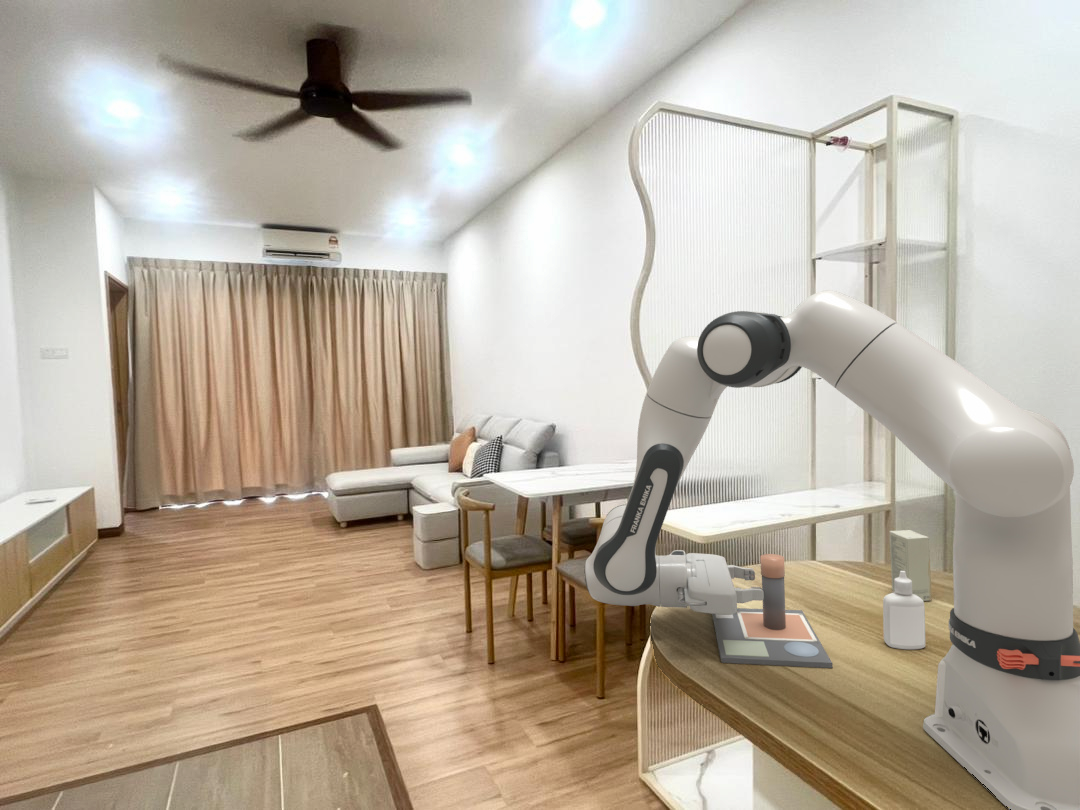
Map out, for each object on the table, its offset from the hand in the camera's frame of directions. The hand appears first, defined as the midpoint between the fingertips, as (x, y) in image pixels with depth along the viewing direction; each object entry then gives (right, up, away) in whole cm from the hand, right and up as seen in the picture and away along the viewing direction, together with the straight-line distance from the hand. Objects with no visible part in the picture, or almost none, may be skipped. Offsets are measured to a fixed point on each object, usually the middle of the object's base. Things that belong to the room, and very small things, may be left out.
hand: (758, 583), depth 102 cm
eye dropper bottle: (+21, -8, -8) cm, 23 cm away
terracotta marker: (+3, -7, 0) cm, 8 cm away
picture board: (0, -8, -2) cm, 9 cm away
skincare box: (+34, -6, +12) cm, 36 cm away
